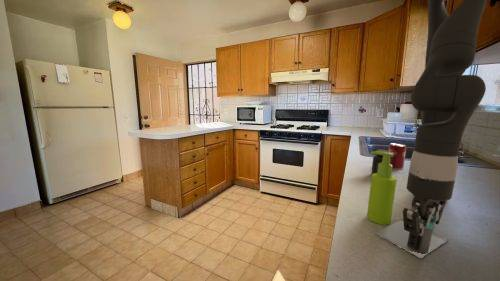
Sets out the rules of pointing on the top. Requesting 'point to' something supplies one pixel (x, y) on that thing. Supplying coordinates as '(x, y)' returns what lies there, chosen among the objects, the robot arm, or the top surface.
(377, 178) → the soap dispenser
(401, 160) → the soda can
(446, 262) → the top surface
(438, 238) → the notepad
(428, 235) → the marker
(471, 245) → the top surface
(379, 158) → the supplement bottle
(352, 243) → the top surface
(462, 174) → the top surface
